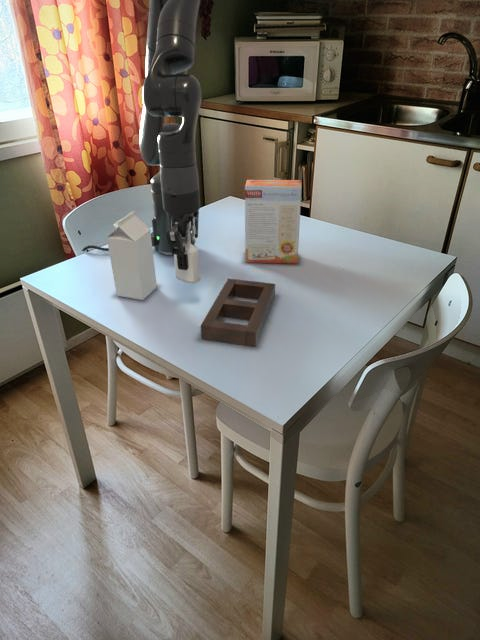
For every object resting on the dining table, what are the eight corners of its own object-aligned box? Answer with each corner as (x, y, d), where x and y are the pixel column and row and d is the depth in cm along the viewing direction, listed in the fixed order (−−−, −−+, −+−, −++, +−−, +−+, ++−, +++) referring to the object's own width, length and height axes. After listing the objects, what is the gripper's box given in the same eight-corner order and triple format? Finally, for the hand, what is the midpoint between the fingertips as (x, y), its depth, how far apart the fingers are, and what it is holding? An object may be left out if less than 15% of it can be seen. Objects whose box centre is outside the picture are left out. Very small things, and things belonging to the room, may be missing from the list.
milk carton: (157, 287, 118) (148, 212, 107) (143, 301, 112) (132, 223, 102) (131, 282, 120) (120, 209, 109) (116, 296, 114) (103, 220, 104)
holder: (201, 339, 99) (200, 325, 97) (228, 291, 116) (227, 278, 114) (255, 347, 96) (255, 332, 94) (274, 296, 113) (275, 283, 111)
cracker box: (297, 255, 132) (302, 179, 121) (297, 264, 127) (302, 186, 116) (246, 253, 133) (246, 177, 122) (244, 263, 128) (244, 185, 117)
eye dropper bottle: (183, 286, 104) (178, 234, 97) (174, 276, 108) (169, 225, 102) (202, 282, 105) (198, 230, 99) (192, 272, 110) (188, 222, 103)
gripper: (174, 175, 102) (181, 249, 111) (148, 196, 90) (158, 277, 100) (208, 177, 101) (212, 252, 110) (186, 199, 89) (192, 281, 98)
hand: (186, 264), depth 105 cm, fingers closed on eye dropper bottle, 4 cm apart
